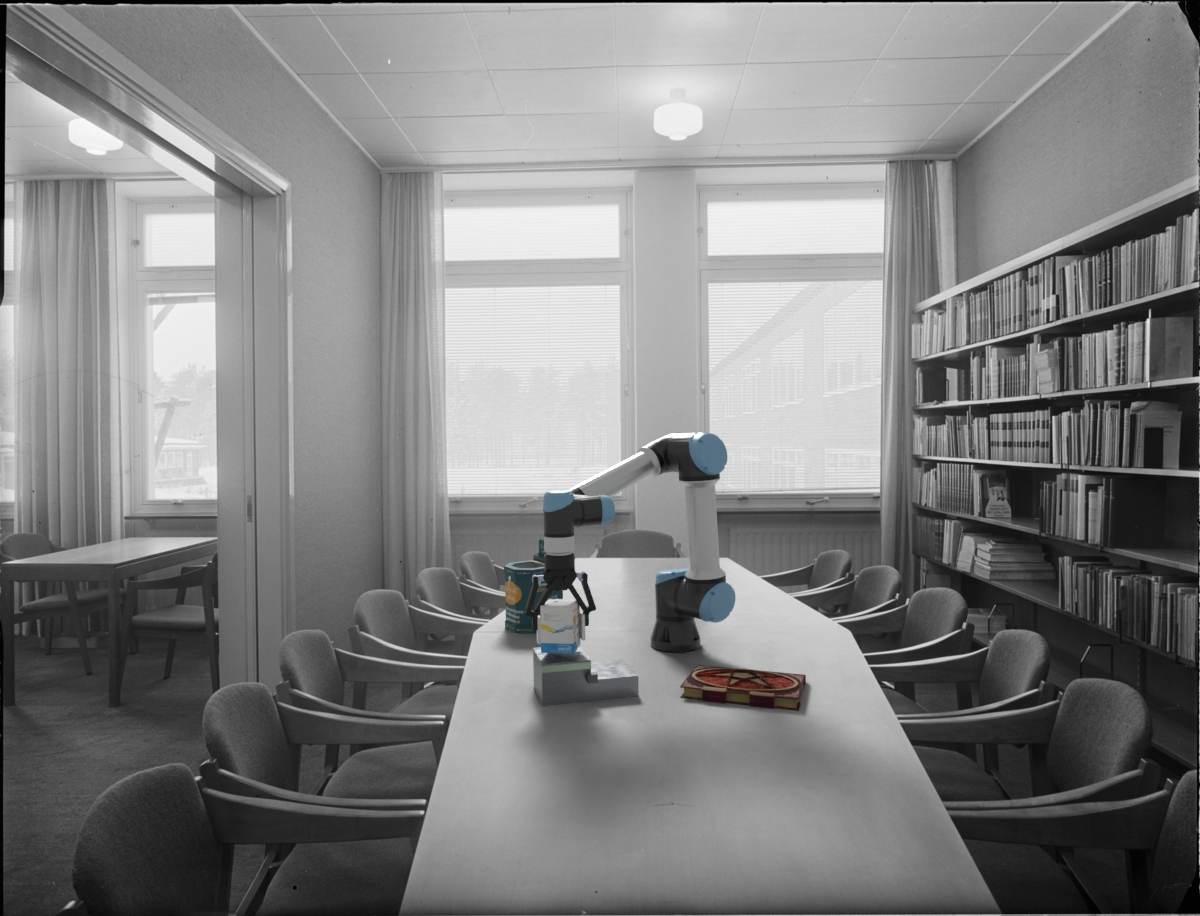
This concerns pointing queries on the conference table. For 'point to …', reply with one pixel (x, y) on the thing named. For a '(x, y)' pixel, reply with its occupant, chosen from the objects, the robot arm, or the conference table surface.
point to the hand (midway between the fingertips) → (561, 640)
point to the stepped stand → (580, 678)
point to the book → (744, 687)
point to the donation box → (524, 591)
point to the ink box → (560, 626)
